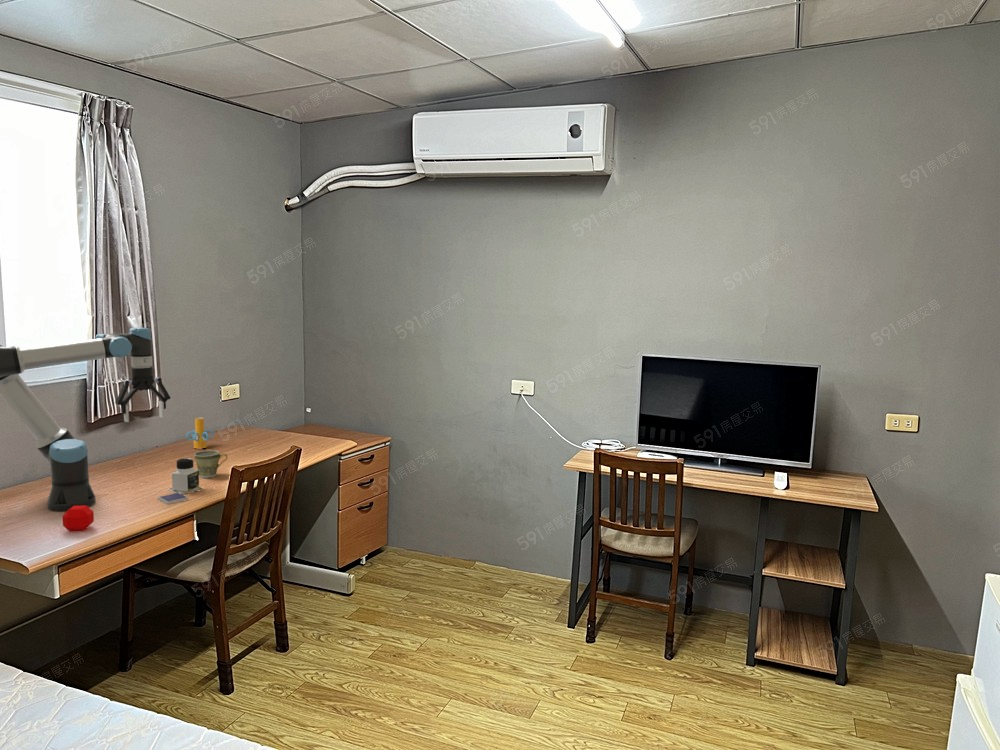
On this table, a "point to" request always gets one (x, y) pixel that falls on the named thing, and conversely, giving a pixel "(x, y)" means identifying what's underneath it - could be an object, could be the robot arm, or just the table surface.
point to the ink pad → (172, 498)
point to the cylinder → (199, 434)
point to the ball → (78, 518)
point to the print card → (185, 491)
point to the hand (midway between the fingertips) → (144, 419)
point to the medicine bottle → (185, 476)
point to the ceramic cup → (208, 462)
